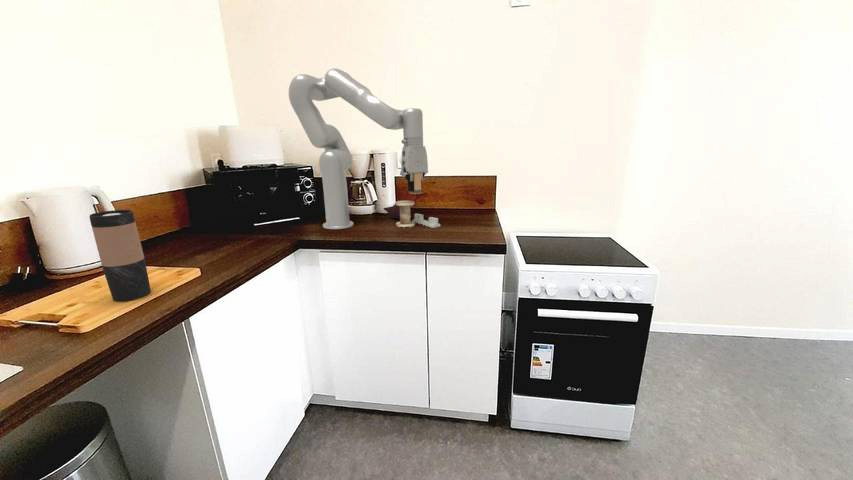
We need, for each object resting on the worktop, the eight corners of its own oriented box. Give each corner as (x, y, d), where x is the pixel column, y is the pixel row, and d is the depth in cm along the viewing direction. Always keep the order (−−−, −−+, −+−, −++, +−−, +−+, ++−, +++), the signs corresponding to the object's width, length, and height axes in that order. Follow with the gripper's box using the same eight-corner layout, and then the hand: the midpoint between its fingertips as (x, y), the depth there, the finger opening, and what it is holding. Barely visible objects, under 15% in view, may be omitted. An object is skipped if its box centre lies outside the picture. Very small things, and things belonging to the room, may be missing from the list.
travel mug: (159, 288, 89) (141, 209, 83) (136, 302, 81) (115, 216, 76) (128, 289, 88) (107, 209, 83) (102, 302, 81) (78, 216, 76)
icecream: (377, 204, 163) (401, 211, 155) (387, 198, 168) (412, 204, 160) (379, 218, 167) (403, 225, 158) (390, 211, 172) (414, 218, 163)
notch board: (412, 222, 157) (412, 214, 156) (419, 220, 159) (419, 213, 158) (433, 227, 146) (433, 219, 145) (440, 226, 149) (440, 218, 148)
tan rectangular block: (409, 193, 142) (408, 172, 140) (415, 192, 144) (414, 172, 142) (415, 194, 139) (414, 173, 137) (421, 193, 141) (420, 172, 139)
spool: (392, 225, 151) (391, 202, 149) (407, 222, 156) (406, 199, 153) (403, 228, 145) (402, 204, 143) (418, 225, 150) (418, 202, 148)
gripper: (401, 143, 129) (403, 193, 134) (436, 142, 139) (436, 189, 144) (390, 143, 134) (392, 192, 139) (423, 142, 144) (425, 187, 149)
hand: (415, 190), depth 141 cm, fingers closed on tan rectangular block, 3 cm apart
